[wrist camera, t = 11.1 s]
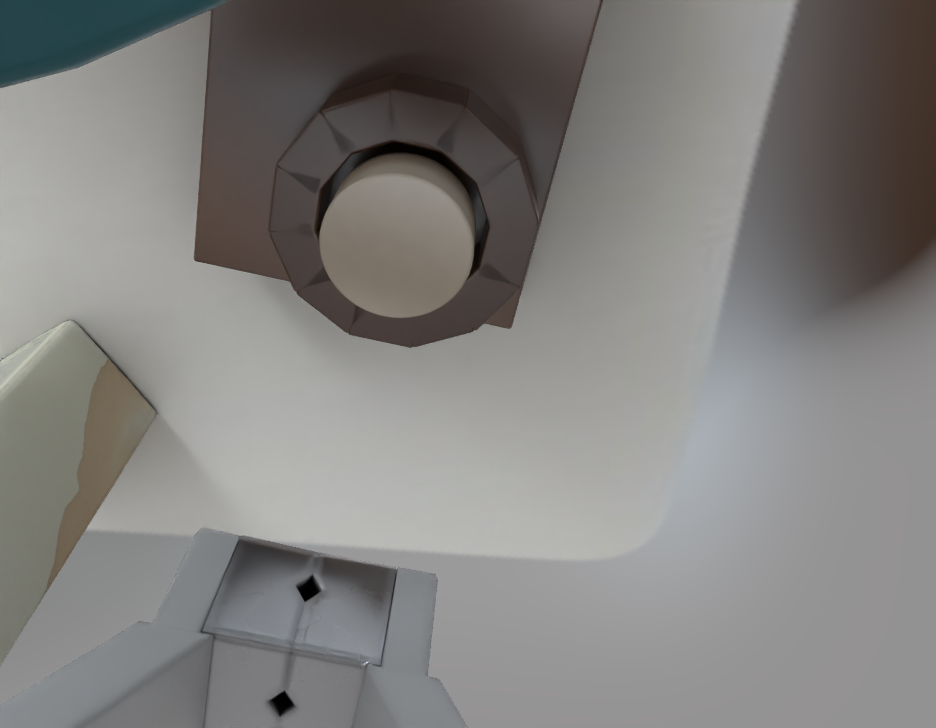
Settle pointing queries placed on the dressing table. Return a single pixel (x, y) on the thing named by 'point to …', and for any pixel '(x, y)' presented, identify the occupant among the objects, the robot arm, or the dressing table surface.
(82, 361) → the box
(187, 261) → the dressing table surface
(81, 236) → the dressing table surface
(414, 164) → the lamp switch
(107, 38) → the lamp
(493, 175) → the lamp base
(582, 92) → the dressing table surface
